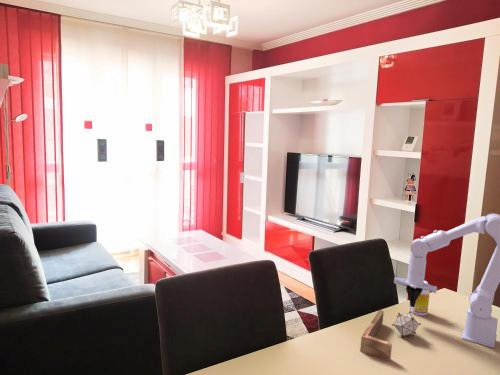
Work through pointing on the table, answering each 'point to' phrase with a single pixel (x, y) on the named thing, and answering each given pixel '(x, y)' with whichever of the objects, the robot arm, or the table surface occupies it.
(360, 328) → the table surface
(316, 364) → the table surface
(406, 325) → the game die
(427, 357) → the table surface
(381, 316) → the l-shaped bracket
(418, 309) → the supplement bottle
